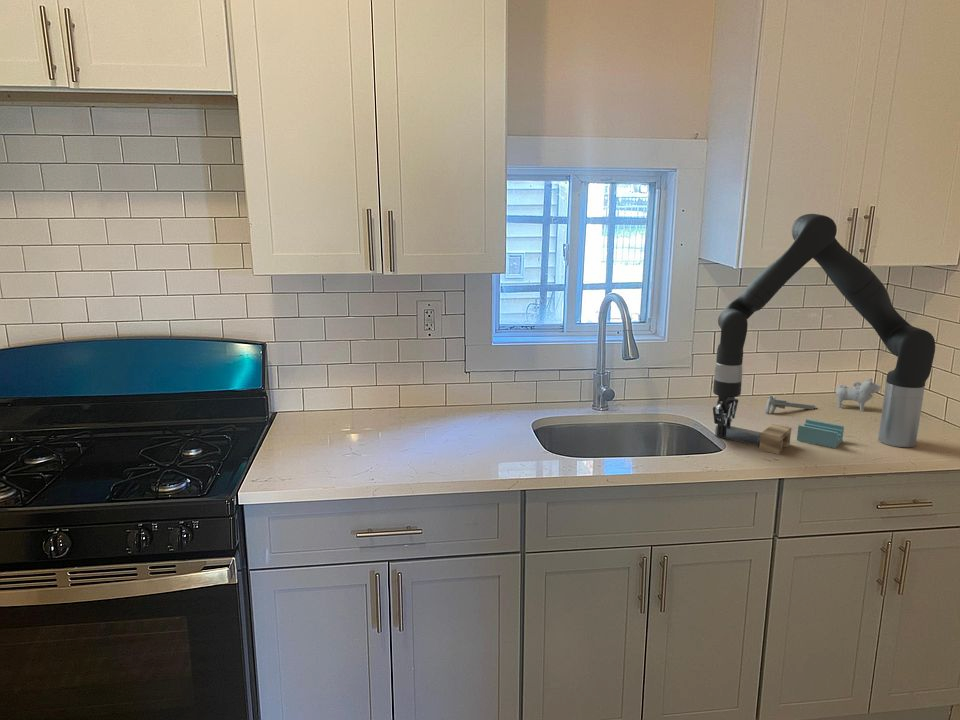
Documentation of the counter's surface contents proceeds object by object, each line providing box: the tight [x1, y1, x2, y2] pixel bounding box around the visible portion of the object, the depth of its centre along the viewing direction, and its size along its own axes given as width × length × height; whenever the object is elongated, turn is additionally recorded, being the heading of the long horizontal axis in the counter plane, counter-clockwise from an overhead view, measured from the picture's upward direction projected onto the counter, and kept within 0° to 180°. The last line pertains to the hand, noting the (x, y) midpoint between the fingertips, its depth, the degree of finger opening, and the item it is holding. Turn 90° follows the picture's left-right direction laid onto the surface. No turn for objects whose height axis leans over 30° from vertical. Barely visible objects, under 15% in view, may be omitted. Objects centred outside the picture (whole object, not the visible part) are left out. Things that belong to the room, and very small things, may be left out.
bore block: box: [759, 423, 792, 455], centre depth 185 cm, size 10×5×5 cm, turn 139°
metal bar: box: [714, 424, 762, 446], centre depth 192 cm, size 3×12×3 cm, turn 49°
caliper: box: [764, 395, 818, 415], centre depth 219 cm, size 20×1×6 cm, turn 108°
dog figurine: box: [835, 378, 882, 413], centre depth 221 cm, size 5×13×11 cm, turn 60°
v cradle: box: [796, 418, 845, 449], centre depth 191 cm, size 8×10×4 cm
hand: (723, 435), depth 195 cm, fingers closed on metal bar, 3 cm apart
